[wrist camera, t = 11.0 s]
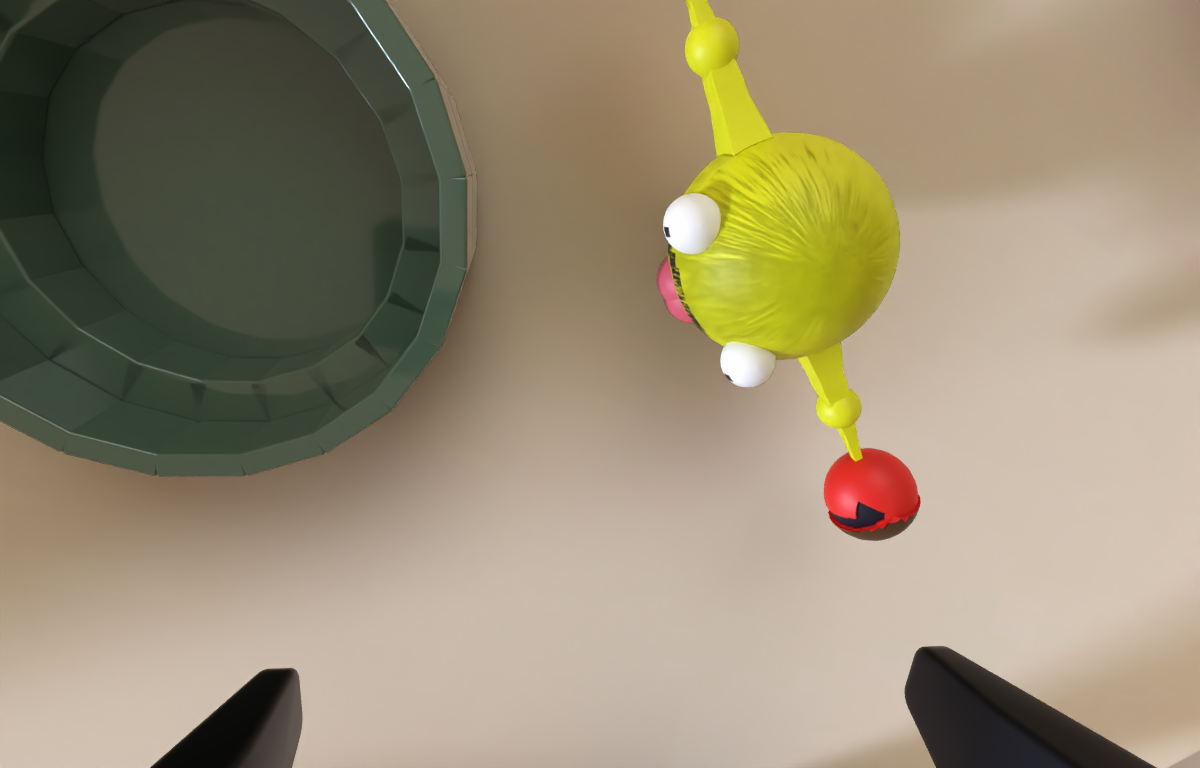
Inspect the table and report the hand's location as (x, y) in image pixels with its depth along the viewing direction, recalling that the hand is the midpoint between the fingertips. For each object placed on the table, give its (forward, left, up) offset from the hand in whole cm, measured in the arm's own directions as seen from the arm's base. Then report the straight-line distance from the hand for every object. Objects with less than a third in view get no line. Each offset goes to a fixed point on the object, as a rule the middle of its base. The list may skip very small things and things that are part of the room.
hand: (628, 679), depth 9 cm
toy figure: (-4, -5, -12) cm, 14 cm away
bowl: (+9, -6, -12) cm, 16 cm away
